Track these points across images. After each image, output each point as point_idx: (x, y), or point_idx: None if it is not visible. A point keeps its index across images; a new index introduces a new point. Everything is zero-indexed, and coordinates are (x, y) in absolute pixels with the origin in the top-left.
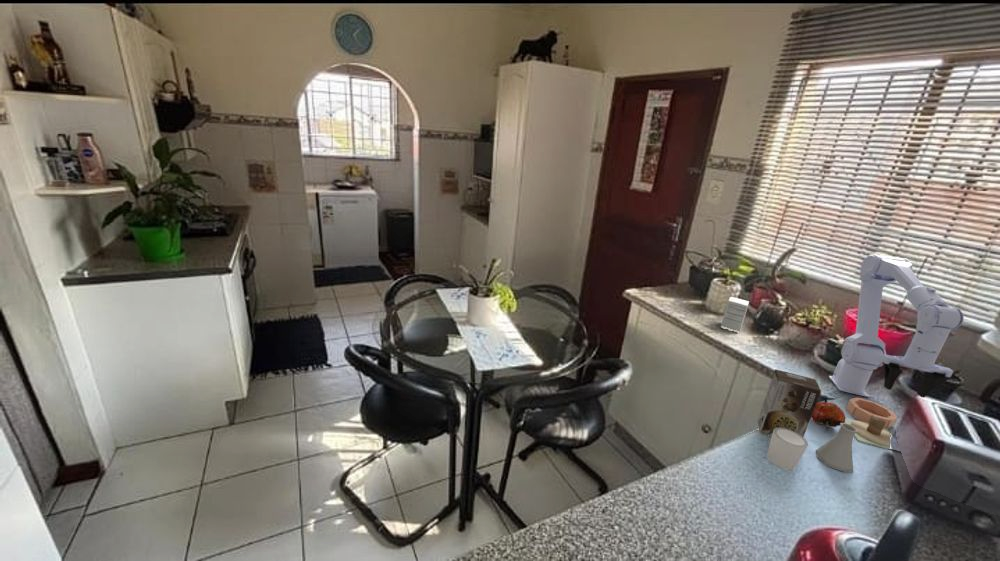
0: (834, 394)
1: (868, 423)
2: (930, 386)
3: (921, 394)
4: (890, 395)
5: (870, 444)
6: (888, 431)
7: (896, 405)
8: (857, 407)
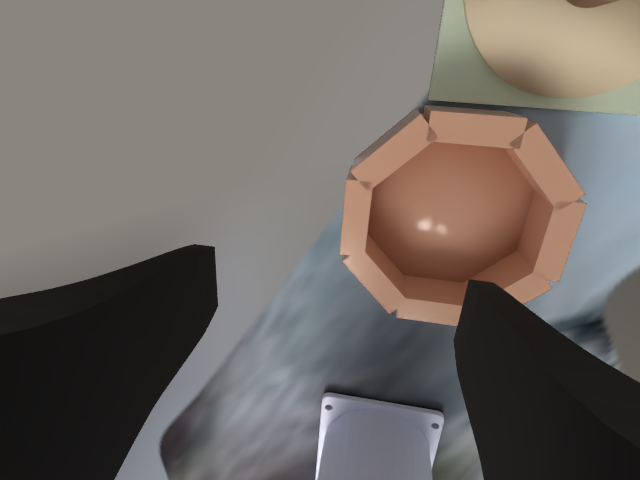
0: None
1: (545, 87)
2: (112, 293)
3: (205, 266)
4: (212, 430)
5: None
6: (434, 66)
7: (226, 365)
8: (574, 200)
